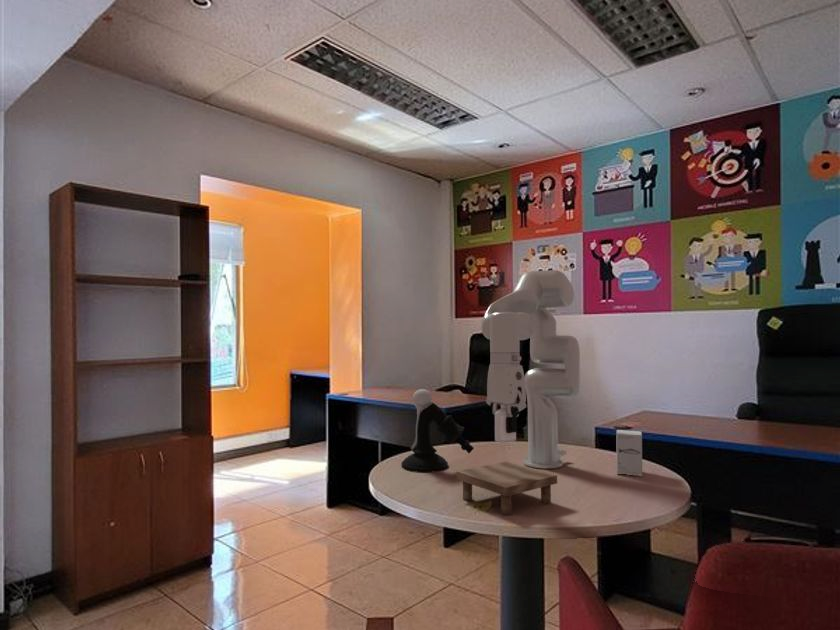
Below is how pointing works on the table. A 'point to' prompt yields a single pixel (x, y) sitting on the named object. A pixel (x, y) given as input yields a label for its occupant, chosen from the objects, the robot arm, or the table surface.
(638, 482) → the table surface
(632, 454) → the supplement box
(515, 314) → the robot arm
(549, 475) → the walnut stool
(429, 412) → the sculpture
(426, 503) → the table surface
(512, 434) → the eye dropper bottle
